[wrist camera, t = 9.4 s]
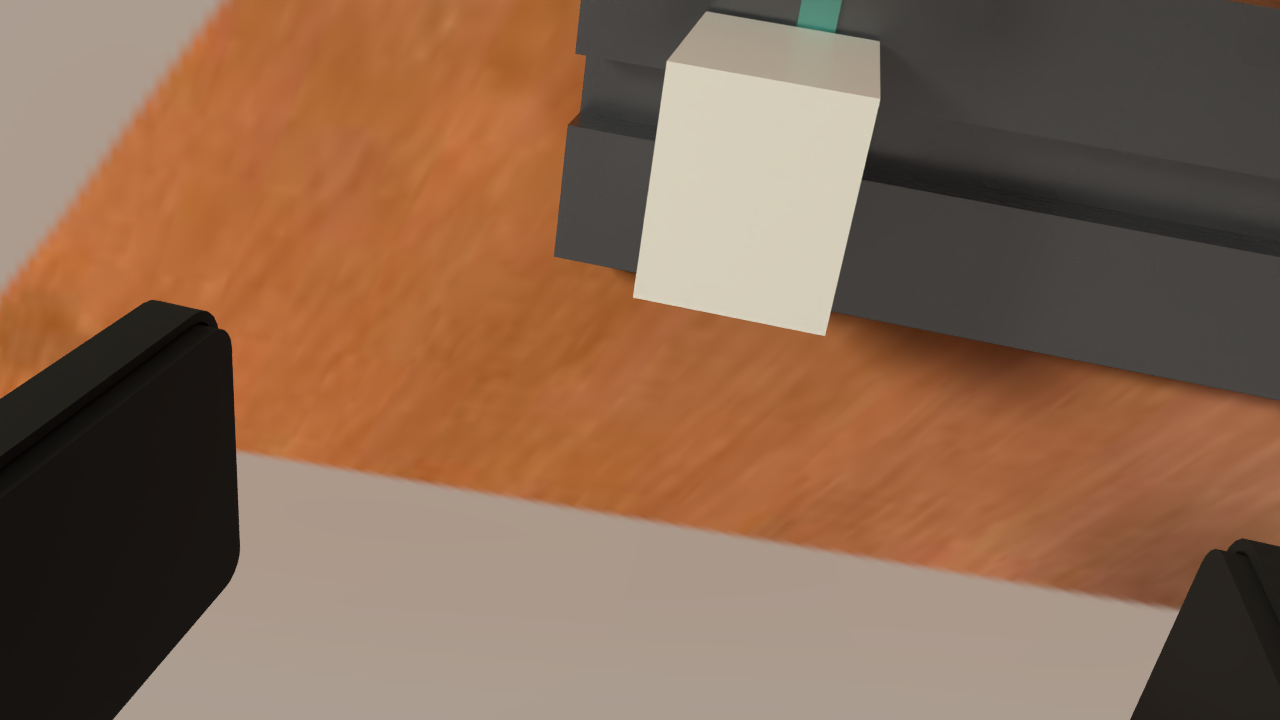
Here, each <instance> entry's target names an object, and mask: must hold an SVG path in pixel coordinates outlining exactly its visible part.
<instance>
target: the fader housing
mask: <svg viewBox="0 0 1280 720" xmlns="http://www.w3.org/2000/svg"><path fill="white" fill-rule="evenodd" d="M706 11H707V12H713V13H719V14H725V15H730V16H736V17H742V18H748V19H754V20H759V21H765V22H771V23H777V24H783V25H788V26H794V27H800V28H806V29H811V30H817V31H823V32H829V33H835V34H840V35H846V36H852V37H858V38H864V39H869V40H875V41H880V103H879V107H878V111H877V116H876V120H875V124H874V129H873V133H872V137H871V141H870V146H869V150H868V154H867V158H866V163H865V167H864V171H863V176H862V180H861V184H860V188H859V193H858V197H857V201H856V206H855V210H854V214H853V218H852V223H851V227H850V231H849V235H848V240H847V244H846V248H845V253H844V257H843V261H842V265H841V270H840V274H839V278H838V282H837V287H836V291H835V295H834V300H833V304H832V308H831V312H836V313H841V314H846V315H851V316H856V317H861V318H866V319H872V320H877V321H882V322H887V323H892V324H897V325H902V326H907V327H912V328H917V329H922V330H927V331H932V332H937V333H942V334H947V335H952V336H957V337H962V338H967V339H972V340H977V341H982V342H987V343H993V344H998V345H1003V346H1008V347H1013V348H1018V349H1023V350H1028V351H1033V352H1038V353H1043V354H1048V355H1053V356H1058V357H1063V358H1068V359H1073V360H1078V361H1083V362H1088V363H1093V364H1098V365H1103V366H1109V367H1114V368H1119V369H1124V370H1129V371H1134V372H1139V373H1144V374H1149V375H1154V376H1159V377H1164V378H1169V379H1174V380H1179V381H1184V382H1189V383H1194V384H1199V385H1204V386H1209V387H1214V388H1219V389H1225V390H1230V391H1235V392H1240V393H1245V394H1250V395H1255V396H1260V397H1265V398H1270V399H1275V400H1280V0H581V5H580V15H579V24H578V34H577V43H576V53H575V54H581V55H586V64H585V73H584V82H583V91H582V101H581V110H580V113H579V114H578V115H577V116H576V117H575V118H574V119H573V120H572V121H571V122H570V123H569V125H568V129H567V138H566V148H565V157H564V167H563V177H562V186H561V196H560V205H559V215H558V224H557V234H556V243H555V253H554V257H559V258H564V259H569V260H574V261H579V262H584V263H589V264H594V265H599V266H604V267H609V268H614V269H619V270H624V271H629V272H634V273H637V266H638V259H639V252H640V245H641V238H642V231H643V224H644V217H645V210H646V203H647V196H648V189H649V182H650V175H651V168H652V161H653V154H654V147H655V140H656V133H657V126H658V119H659V112H660V105H661V98H662V91H663V84H664V77H665V70H666V63H667V60H668V59H669V58H670V56H671V55H672V54H673V53H674V51H675V50H676V49H677V48H678V46H679V45H680V44H681V42H682V41H683V40H684V39H685V37H686V36H687V35H688V34H689V32H690V31H691V30H692V29H693V27H694V26H695V25H696V24H697V22H698V21H699V20H700V19H701V17H702V16H703V15H704V14H705V12H706Z"/></svg>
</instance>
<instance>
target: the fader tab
mask: <svg viewBox="0 0 1280 720" xmlns="http://www.w3.org/2000/svg"><path fill="white" fill-rule="evenodd" d="M879 103H880V41H875V40H869V39H864V38H858V37H852V36H846V35H840V34H835V33H829V32H823V31H817V30H811V29H806V28H800V27H794V26H788V25H783V24H777V23H771V22H765V21H759V20H754V19H748V18H742V17H736V16H730V15H725V14H719V13H713V12H707V11H706V12H705V14H704V15H703V16H702V17H701V19H700V20H699V21H698V22H697V24H696V25H695V26H694V27H693V29H692V30H691V31H690V32H689V34H688V35H687V36H686V37H685V39H684V40H683V41H682V42H681V44H680V45H679V46H678V48H677V49H676V50H675V51H674V53H673V54H672V55H671V56H670V58H669V59H668V60H667V63H666V70H665V77H664V84H663V91H662V98H661V105H660V112H659V119H658V126H657V133H656V140H655V147H654V154H653V161H652V168H651V175H650V182H649V189H648V196H647V203H646V210H645V217H644V224H643V231H642V238H641V245H640V252H639V259H638V266H637V273H636V280H635V287H634V294H633V298H638V299H643V300H648V301H653V302H658V303H663V304H668V305H673V306H678V307H683V308H688V309H693V310H698V311H703V312H708V313H713V314H718V315H723V316H728V317H733V318H738V319H743V320H748V321H753V322H758V323H763V324H768V325H773V326H778V327H783V328H788V329H793V330H798V331H803V332H808V333H813V334H818V335H823V336H825V334H826V330H827V325H828V321H829V317H830V312H831V308H832V304H833V300H834V295H835V291H836V287H837V282H838V278H839V274H840V270H841V265H842V261H843V257H844V253H845V248H846V244H847V240H848V235H849V231H850V227H851V223H852V218H853V214H854V210H855V206H856V201H857V197H858V193H859V188H860V184H861V180H862V176H863V171H864V167H865V163H866V158H867V154H868V150H869V146H870V141H871V137H872V133H873V129H874V124H875V120H876V116H877V111H878V107H879Z"/></svg>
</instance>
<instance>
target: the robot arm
mask: <svg viewBox="0 0 1280 720" xmlns="http://www.w3.org/2000/svg"><path fill="white" fill-rule="evenodd" d="M238 514H239V513H238V489H237V465H236V439H235V415H234V390H233V366H232V346H231V339H230V337H229V335H228V333H227V332H226V331H225V330H222V329H218V326H217V323H216V320H215V318H214V316H213V315H211V314H210V313H209V312H207V311H203V310H198V309H194V308H189V307H184V306H180V305H175V304H171V303H166V302H162V301H156V300H150V301H148V302H145V303H143V304H142V305H140V306H139V307H137V308H136V309H134V310H133V311H131V312H130V313H128V314H127V315H125V316H124V317H122V318H121V319H119V320H118V321H116V322H115V323H113V324H112V325H110V326H109V327H107V328H106V329H104V330H103V331H101V332H100V333H98V334H97V335H95V336H94V337H92V338H91V339H89V340H88V341H86V342H85V343H83V344H82V345H80V346H79V347H77V348H76V349H74V350H73V351H71V352H70V353H68V354H67V355H65V356H64V357H62V358H61V359H59V360H58V361H56V362H55V363H53V364H52V365H50V366H49V367H47V368H46V369H44V370H43V371H41V372H40V373H38V374H37V375H35V376H34V377H32V378H31V379H29V380H28V381H26V382H25V383H23V384H22V385H20V386H19V387H17V388H16V389H15V390H13V391H12V392H10V393H9V394H7V395H6V396H4V397H3V398H1V399H0V720H113V719H114V717H115V716H116V715H117V714H118V713H119V712H120V710H121V709H122V708H123V707H124V706H125V705H126V703H127V702H128V701H129V700H130V699H131V697H132V696H133V695H134V694H135V693H136V692H137V690H138V689H139V688H140V687H141V686H142V685H143V683H144V682H145V681H146V680H147V679H148V677H149V676H150V675H151V674H152V673H153V672H154V670H155V669H156V668H157V667H158V666H159V665H160V663H161V662H162V661H163V660H164V659H165V658H166V656H167V655H168V654H169V653H170V651H172V649H173V648H174V647H175V646H176V645H177V643H178V642H179V641H180V640H181V639H182V638H183V636H184V635H185V634H186V633H187V632H188V631H189V629H190V628H191V627H192V626H193V625H194V623H195V622H196V621H197V620H198V619H199V618H200V617H201V615H202V614H203V613H204V612H205V611H206V609H207V608H208V607H209V606H210V605H211V604H212V602H213V601H214V600H215V599H216V598H217V597H218V595H219V594H220V593H221V592H222V591H223V589H224V588H225V587H226V586H227V584H228V583H229V582H230V580H231V578H232V576H233V574H234V572H235V569H236V566H237V563H238V559H239V553H240V539H239V516H238ZM1130 720H1280V547H1279V546H1275V545H1270V544H1266V543H1261V542H1256V541H1252V540H1247V539H1243V538H1242V539H1240V540H1237V541H1235V542H1234V543H1233V544H1232V545H1231V546H1230V547H1229V549H1228V550H1227V551H1222V550H1218V549H1214V550H1211V551H1210V552H1209V553H1208V554H1207V555H1206V556H1205V558H1204V560H1203V562H1202V563H1201V566H1200V568H1199V570H1198V572H1197V574H1196V577H1195V579H1194V581H1193V583H1192V585H1191V587H1190V590H1189V592H1188V594H1187V596H1186V598H1185V601H1184V603H1183V605H1182V607H1181V609H1180V612H1179V614H1178V616H1177V618H1176V621H1175V623H1174V625H1173V627H1172V629H1171V631H1170V634H1169V636H1168V638H1167V640H1166V642H1165V645H1164V647H1163V649H1162V651H1161V654H1160V656H1159V658H1158V660H1157V662H1156V664H1155V666H1154V669H1153V671H1152V673H1151V675H1150V677H1149V680H1148V682H1147V684H1146V686H1145V689H1144V691H1143V693H1142V695H1141V697H1140V699H1139V702H1138V704H1137V706H1136V708H1135V710H1134V712H1133V715H1132V717H1131V719H1130Z"/></svg>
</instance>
